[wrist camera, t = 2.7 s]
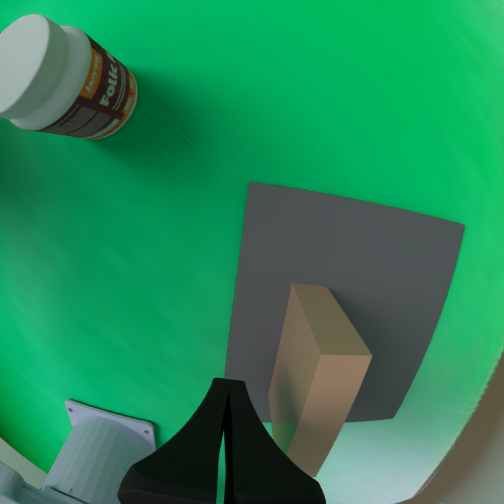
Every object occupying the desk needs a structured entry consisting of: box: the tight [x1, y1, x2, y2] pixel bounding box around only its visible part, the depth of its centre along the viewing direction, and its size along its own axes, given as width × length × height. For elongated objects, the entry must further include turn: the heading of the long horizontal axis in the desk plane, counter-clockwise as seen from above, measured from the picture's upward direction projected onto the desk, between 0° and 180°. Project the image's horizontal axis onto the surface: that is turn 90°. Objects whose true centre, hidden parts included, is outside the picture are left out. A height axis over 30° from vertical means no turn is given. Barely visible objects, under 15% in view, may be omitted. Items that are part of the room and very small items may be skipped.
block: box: [268, 283, 372, 477], centre depth 14 cm, size 8×2×7 cm, turn 172°
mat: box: [224, 182, 465, 423], centre depth 17 cm, size 16×14×1 cm
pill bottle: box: [0, 14, 138, 140], centre depth 10 cm, size 5×5×8 cm
